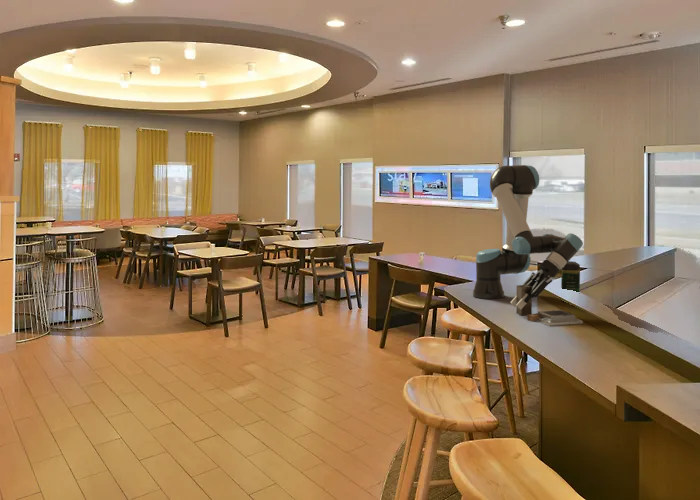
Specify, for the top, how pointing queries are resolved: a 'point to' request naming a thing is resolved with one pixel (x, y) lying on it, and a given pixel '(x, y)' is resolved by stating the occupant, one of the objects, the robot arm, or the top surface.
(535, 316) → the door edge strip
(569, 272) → the coffee jar
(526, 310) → the stop bar
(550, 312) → the keeper
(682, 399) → the top surface
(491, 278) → the robot arm
